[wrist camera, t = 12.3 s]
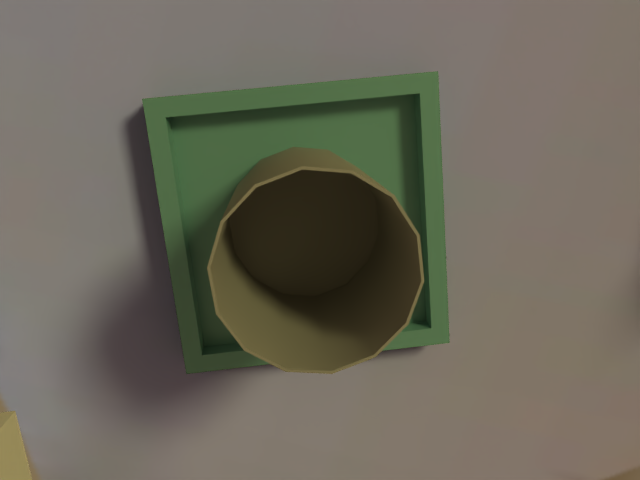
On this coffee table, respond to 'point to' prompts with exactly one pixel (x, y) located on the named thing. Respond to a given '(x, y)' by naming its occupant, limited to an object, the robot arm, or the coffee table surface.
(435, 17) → the coffee table surface
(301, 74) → the coffee table surface
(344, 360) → the cup
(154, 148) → the tray
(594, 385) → the coffee table surface
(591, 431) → the coffee table surface
